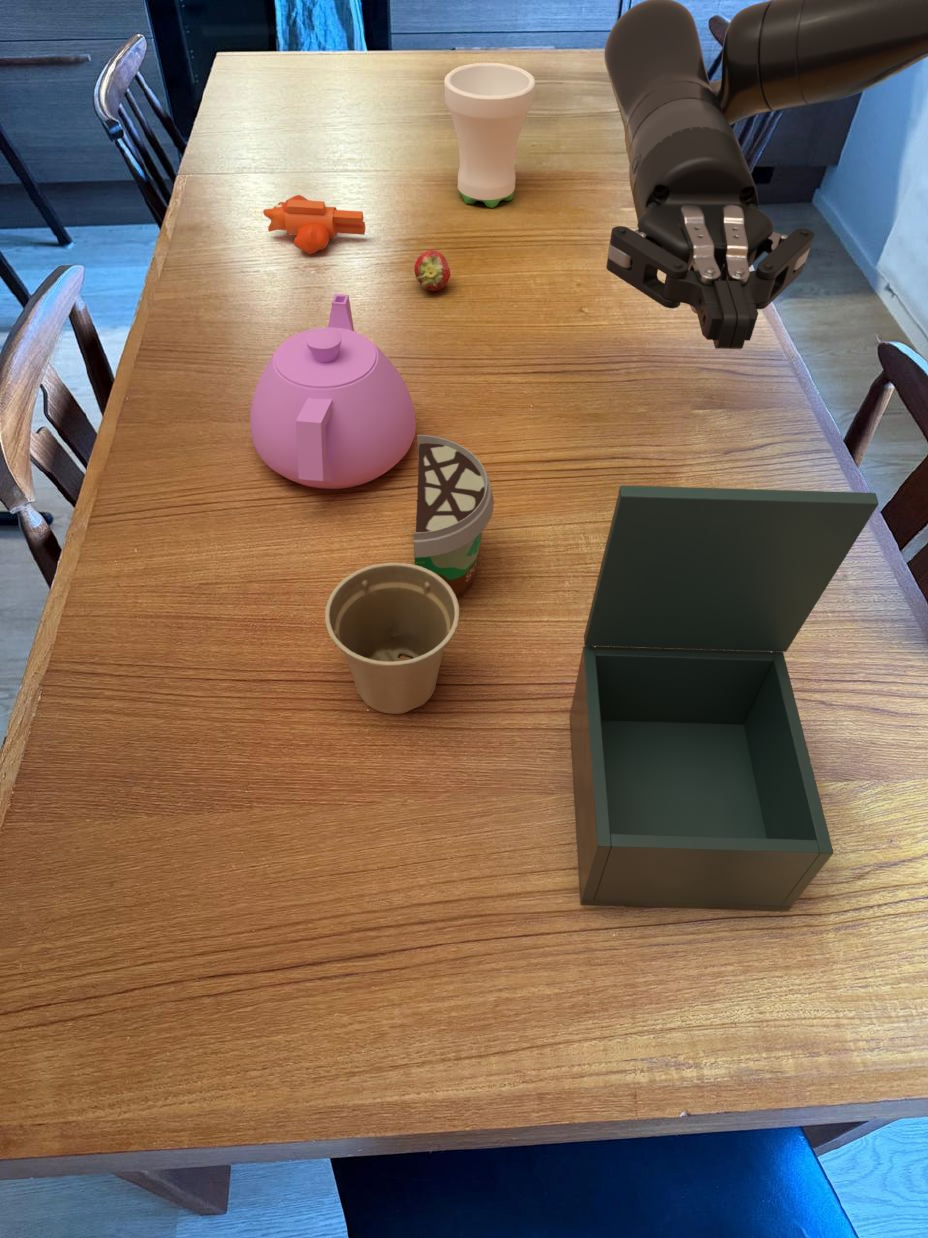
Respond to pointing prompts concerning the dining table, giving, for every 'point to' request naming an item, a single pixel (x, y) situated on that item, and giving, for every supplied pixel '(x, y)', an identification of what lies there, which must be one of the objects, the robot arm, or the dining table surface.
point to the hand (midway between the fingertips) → (732, 335)
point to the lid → (719, 565)
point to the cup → (488, 126)
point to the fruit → (432, 270)
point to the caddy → (692, 781)
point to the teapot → (331, 407)
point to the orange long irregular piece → (313, 222)
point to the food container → (450, 511)
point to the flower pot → (393, 632)
